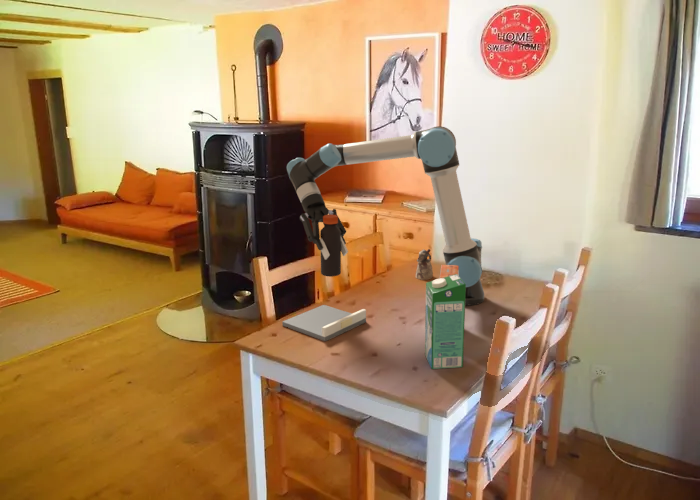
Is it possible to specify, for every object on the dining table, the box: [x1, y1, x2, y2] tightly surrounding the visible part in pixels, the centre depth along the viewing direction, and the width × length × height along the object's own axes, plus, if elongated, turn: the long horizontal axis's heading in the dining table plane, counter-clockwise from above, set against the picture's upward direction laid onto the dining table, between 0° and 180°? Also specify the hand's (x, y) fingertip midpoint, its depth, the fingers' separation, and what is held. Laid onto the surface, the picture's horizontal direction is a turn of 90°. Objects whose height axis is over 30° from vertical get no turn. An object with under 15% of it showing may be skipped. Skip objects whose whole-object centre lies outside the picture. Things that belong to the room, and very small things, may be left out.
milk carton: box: [424, 274, 466, 370], centre depth 161 cm, size 9×9×25 cm
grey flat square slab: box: [281, 304, 367, 342], centre depth 192 cm, size 20×20×4 cm
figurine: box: [415, 248, 434, 281], centre depth 236 cm, size 7×7×12 cm
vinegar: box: [319, 214, 342, 278], centre depth 190 cm, size 7×7×20 cm
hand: (336, 255), depth 188 cm, fingers closed on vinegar, 6 cm apart
